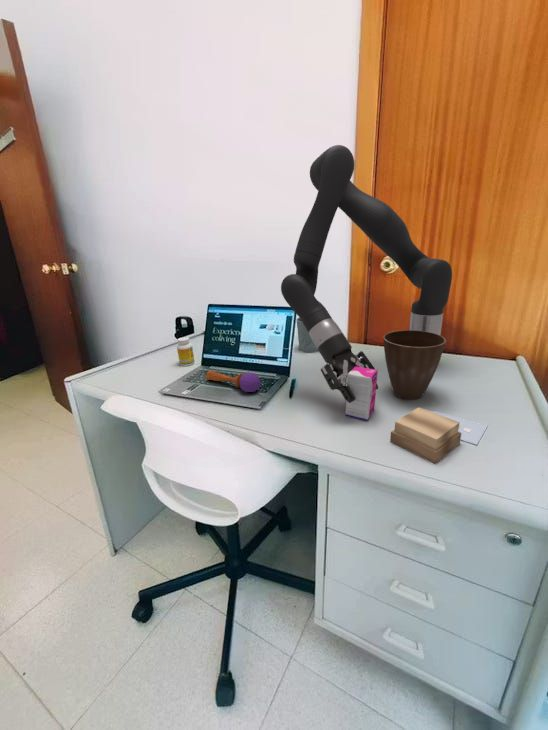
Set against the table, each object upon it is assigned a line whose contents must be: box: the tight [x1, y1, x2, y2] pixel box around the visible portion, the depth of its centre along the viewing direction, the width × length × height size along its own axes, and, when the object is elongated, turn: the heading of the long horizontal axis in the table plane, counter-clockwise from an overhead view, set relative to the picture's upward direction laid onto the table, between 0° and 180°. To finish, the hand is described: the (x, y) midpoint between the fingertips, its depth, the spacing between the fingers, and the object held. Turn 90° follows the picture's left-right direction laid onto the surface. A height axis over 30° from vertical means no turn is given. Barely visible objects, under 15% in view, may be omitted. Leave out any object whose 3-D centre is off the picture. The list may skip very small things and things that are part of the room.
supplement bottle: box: [176, 336, 195, 367], centre depth 124 cm, size 5×5×10 cm
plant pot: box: [383, 329, 447, 400], centre depth 92 cm, size 15×15×16 cm
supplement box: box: [345, 366, 378, 422], centre depth 84 cm, size 6×6×12 cm
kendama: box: [205, 370, 261, 393], centre depth 105 cm, size 6×6×20 cm
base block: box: [389, 406, 461, 464], centre depth 72 cm, size 10×10×5 cm
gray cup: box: [295, 317, 319, 354], centre depth 132 cm, size 10×10×12 cm
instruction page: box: [430, 410, 488, 446], centre depth 78 cm, size 9×12×1 cm
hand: (364, 395), depth 83 cm, fingers open, 8 cm apart
